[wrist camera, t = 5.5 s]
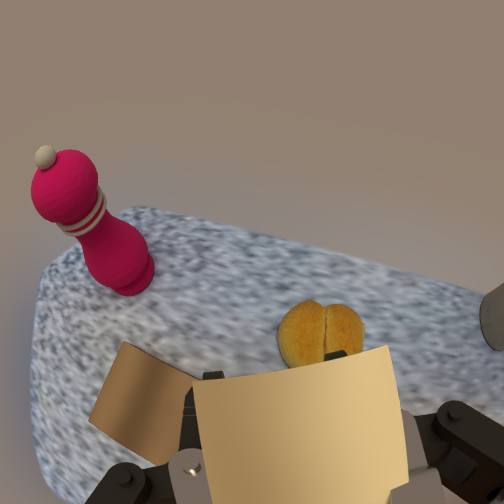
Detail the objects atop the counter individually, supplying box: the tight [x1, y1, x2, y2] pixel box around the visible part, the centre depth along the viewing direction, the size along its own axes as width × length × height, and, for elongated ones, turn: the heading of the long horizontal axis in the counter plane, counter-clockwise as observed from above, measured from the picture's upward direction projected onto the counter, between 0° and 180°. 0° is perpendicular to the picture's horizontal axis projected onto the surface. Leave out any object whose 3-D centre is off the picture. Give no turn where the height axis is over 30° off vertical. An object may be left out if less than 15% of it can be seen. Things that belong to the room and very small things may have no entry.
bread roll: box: [278, 301, 365, 369], centre depth 26 cm, size 8×9×4 cm
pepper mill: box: [31, 145, 154, 296], centre depth 23 cm, size 7×7×20 cm
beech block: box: [192, 345, 409, 504], centre depth 8 cm, size 4×4×10 cm
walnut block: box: [88, 341, 202, 466], centre depth 23 cm, size 10×10×3 cm
